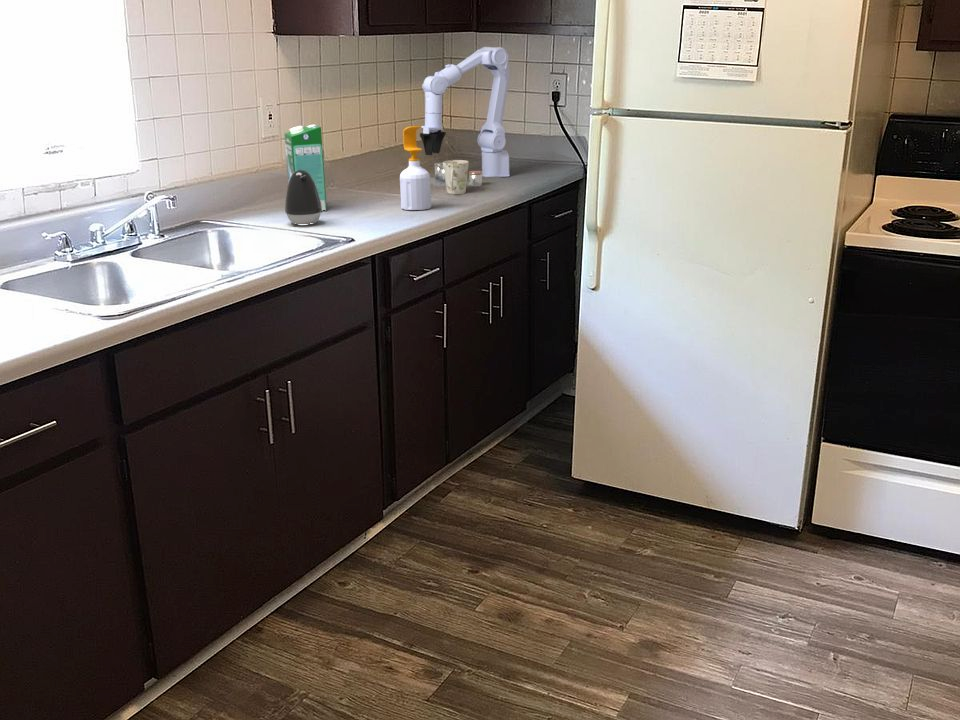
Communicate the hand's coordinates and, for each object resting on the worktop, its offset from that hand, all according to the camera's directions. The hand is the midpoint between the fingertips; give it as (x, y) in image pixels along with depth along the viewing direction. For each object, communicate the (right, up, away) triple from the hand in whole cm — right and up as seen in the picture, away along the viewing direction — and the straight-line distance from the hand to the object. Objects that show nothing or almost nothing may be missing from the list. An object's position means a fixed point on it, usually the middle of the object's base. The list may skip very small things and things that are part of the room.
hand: (432, 154), depth 333 cm
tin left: (+3, -6, +10) cm, 12 cm away
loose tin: (+15, -12, -4) cm, 20 cm away
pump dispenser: (-33, -32, -57) cm, 73 cm away
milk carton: (-36, -25, -38) cm, 58 cm away
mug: (+8, -17, -16) cm, 25 cm away
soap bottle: (-3, -25, -38) cm, 46 cm away
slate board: (+5, -9, +4) cm, 11 cm away
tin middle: (+4, -8, +5) cm, 10 cm away
